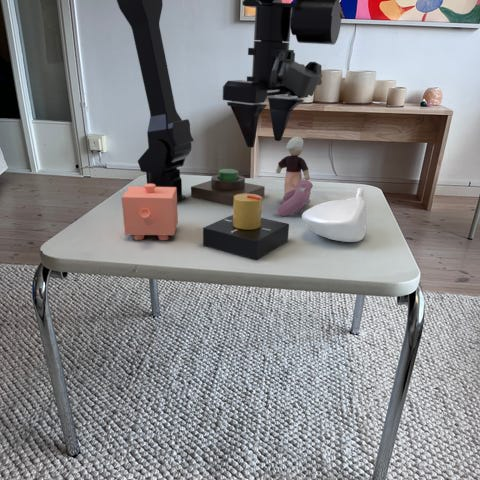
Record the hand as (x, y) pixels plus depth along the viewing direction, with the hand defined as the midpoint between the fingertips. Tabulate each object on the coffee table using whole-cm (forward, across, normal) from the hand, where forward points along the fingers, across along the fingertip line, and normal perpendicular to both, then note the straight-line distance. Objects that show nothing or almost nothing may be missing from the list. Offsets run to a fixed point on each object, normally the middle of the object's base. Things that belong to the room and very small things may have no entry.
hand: (264, 143), depth 84 cm
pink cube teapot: (+13, -21, +8) cm, 26 cm away
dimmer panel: (+13, -14, -6) cm, 20 cm away
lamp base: (+13, +6, +12) cm, 19 cm away
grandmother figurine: (+13, +11, -1) cm, 17 cm away
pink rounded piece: (+13, +7, -4) cm, 15 cm away
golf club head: (+13, -2, -16) cm, 21 cm away
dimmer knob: (+10, -14, -6) cm, 18 cm away
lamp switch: (+9, +6, +12) cm, 17 cm away
